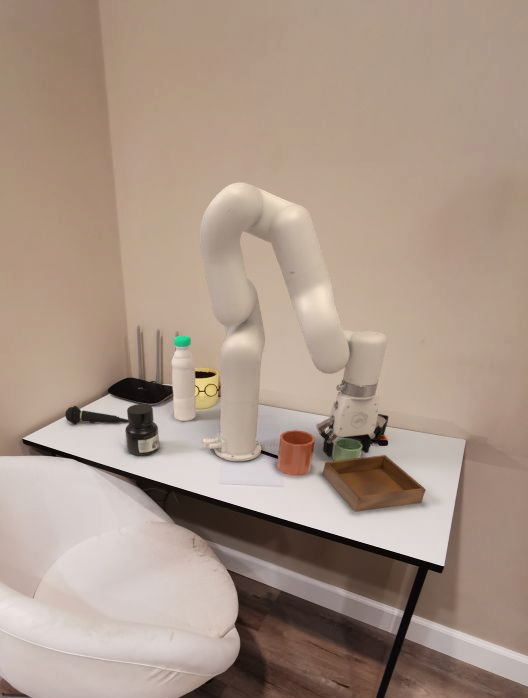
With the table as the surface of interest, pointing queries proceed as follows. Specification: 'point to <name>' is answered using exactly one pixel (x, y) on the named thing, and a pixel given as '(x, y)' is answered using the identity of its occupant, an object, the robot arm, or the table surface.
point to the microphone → (90, 416)
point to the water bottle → (183, 380)
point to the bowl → (346, 449)
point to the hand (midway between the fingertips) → (345, 452)
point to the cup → (295, 452)
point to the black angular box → (377, 436)
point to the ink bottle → (141, 430)
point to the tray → (373, 483)
